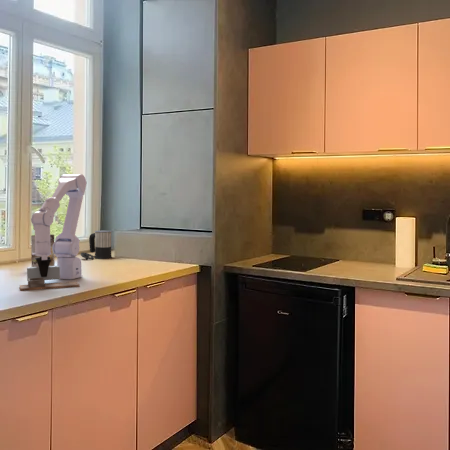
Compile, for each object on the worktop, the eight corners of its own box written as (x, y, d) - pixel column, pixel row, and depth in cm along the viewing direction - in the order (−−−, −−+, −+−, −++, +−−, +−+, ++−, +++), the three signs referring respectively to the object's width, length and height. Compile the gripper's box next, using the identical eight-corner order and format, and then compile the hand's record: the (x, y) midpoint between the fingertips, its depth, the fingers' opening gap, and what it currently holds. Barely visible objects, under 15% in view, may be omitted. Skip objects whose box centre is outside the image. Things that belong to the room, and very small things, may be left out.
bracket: (76, 283, 207) (76, 275, 207) (79, 286, 200) (79, 278, 200) (19, 287, 199) (19, 278, 198) (20, 290, 192) (20, 281, 192)
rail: (59, 278, 211) (58, 265, 210) (59, 279, 208) (59, 266, 208) (27, 280, 206) (26, 267, 206) (27, 281, 203) (27, 268, 203)
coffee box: (43, 271, 239) (42, 235, 238) (31, 270, 241) (30, 235, 240) (55, 268, 248) (54, 234, 247) (43, 267, 249) (42, 233, 248)
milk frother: (114, 257, 289) (114, 230, 288) (102, 260, 274) (102, 232, 273) (90, 256, 292) (90, 229, 291) (77, 260, 276) (77, 232, 276)
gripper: (30, 240, 211) (31, 273, 212) (33, 243, 198) (33, 279, 199) (49, 239, 214) (49, 272, 215) (52, 243, 201) (53, 278, 201)
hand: (43, 276), depth 207 cm, fingers closed on rail, 3 cm apart
